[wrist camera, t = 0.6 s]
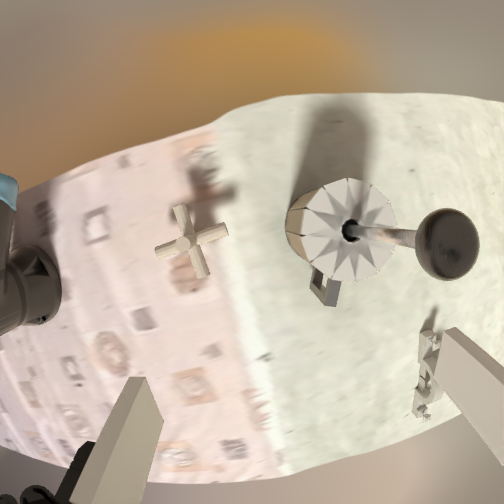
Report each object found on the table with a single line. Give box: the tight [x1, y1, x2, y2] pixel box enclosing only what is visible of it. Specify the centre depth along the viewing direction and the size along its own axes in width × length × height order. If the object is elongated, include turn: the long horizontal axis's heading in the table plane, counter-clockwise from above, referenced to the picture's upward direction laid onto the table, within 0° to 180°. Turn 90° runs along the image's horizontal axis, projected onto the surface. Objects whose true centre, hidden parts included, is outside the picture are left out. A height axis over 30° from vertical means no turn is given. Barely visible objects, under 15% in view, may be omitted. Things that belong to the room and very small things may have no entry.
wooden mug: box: [285, 178, 398, 307], centre depth 37 cm, size 11×14×14 cm
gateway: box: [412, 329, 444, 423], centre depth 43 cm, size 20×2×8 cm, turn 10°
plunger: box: [341, 208, 480, 281], centre depth 22 cm, size 8×8×22 cm
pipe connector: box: [155, 203, 229, 279], centre depth 38 cm, size 10×10×10 cm
